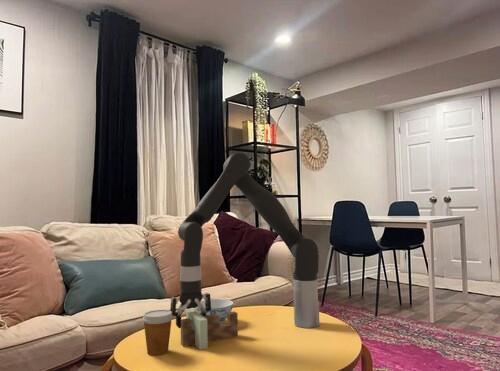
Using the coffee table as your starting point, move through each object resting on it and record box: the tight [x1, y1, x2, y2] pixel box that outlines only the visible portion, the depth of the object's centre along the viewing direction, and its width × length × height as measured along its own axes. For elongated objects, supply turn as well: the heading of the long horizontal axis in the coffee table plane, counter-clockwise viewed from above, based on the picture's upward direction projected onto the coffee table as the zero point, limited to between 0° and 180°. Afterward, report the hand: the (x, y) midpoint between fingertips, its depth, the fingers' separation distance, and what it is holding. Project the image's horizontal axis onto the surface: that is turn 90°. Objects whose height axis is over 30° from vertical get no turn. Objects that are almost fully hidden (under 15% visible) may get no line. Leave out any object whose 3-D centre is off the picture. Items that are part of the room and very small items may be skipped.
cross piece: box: [185, 309, 209, 350], centre depth 125 cm, size 14×2×9 cm, turn 28°
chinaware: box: [195, 298, 234, 325], centre depth 147 cm, size 15×15×8 cm
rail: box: [180, 310, 239, 347], centre depth 127 cm, size 20×2×8 cm, turn 118°
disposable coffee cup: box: [142, 309, 174, 357], centre depth 117 cm, size 10×10×12 cm
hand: (191, 325), depth 130 cm, fingers open, 8 cm apart
